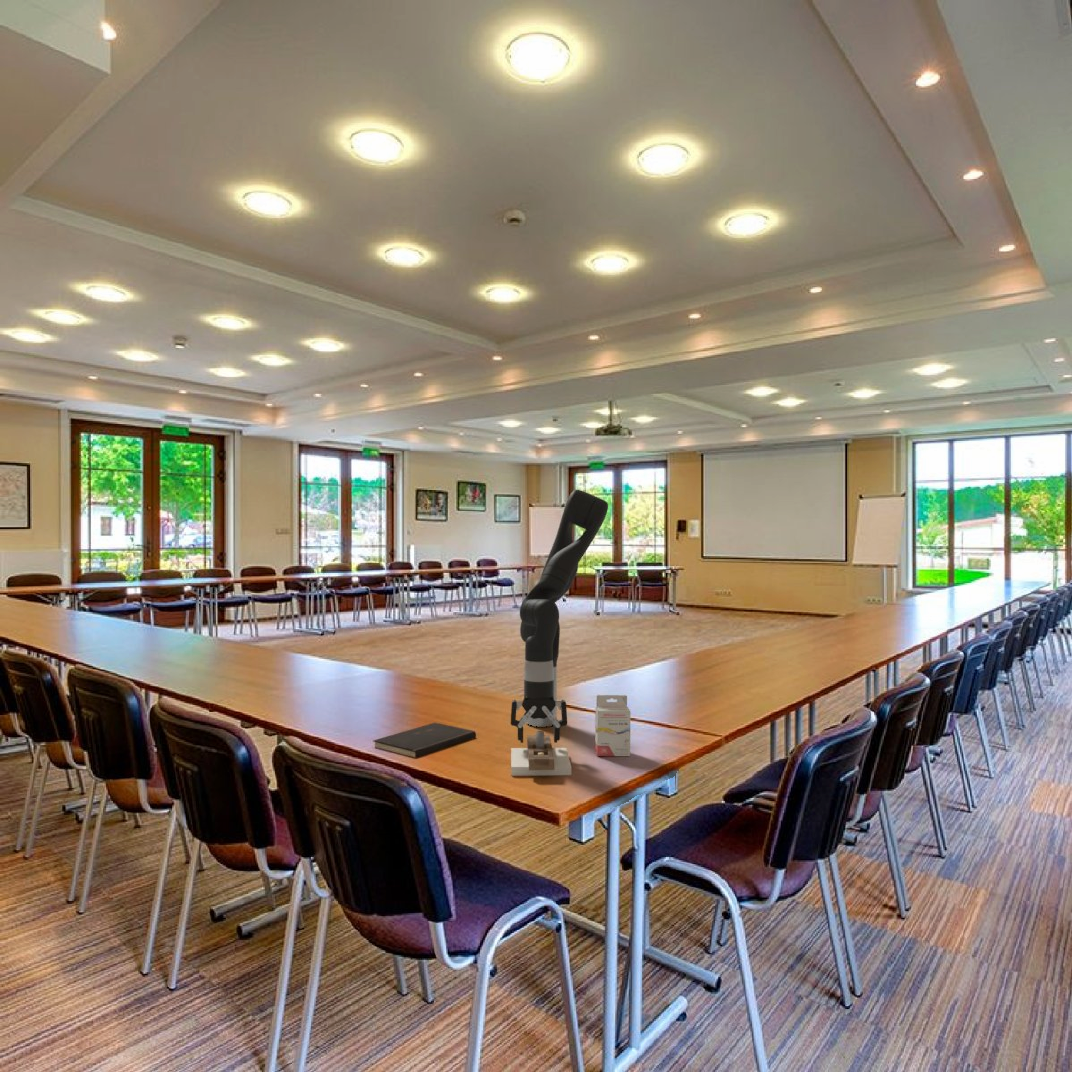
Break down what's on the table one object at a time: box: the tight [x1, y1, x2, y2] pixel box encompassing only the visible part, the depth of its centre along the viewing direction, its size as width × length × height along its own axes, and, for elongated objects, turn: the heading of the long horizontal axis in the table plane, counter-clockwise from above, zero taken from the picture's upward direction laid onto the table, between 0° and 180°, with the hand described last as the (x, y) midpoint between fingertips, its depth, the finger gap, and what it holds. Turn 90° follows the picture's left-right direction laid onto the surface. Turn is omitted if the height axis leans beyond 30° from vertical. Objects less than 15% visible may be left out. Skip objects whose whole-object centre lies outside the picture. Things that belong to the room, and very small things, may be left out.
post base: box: [510, 730, 572, 777], centre depth 169 cm, size 15×14×8 cm
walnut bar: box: [526, 734, 554, 770], centre depth 169 cm, size 20×6×2 cm, turn 2°
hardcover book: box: [372, 722, 477, 759], centre depth 188 cm, size 16×23×2 cm
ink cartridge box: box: [594, 694, 631, 757], centre depth 178 cm, size 9×5×15 cm, turn 92°
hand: (538, 742), depth 175 cm, fingers open, 8 cm apart
